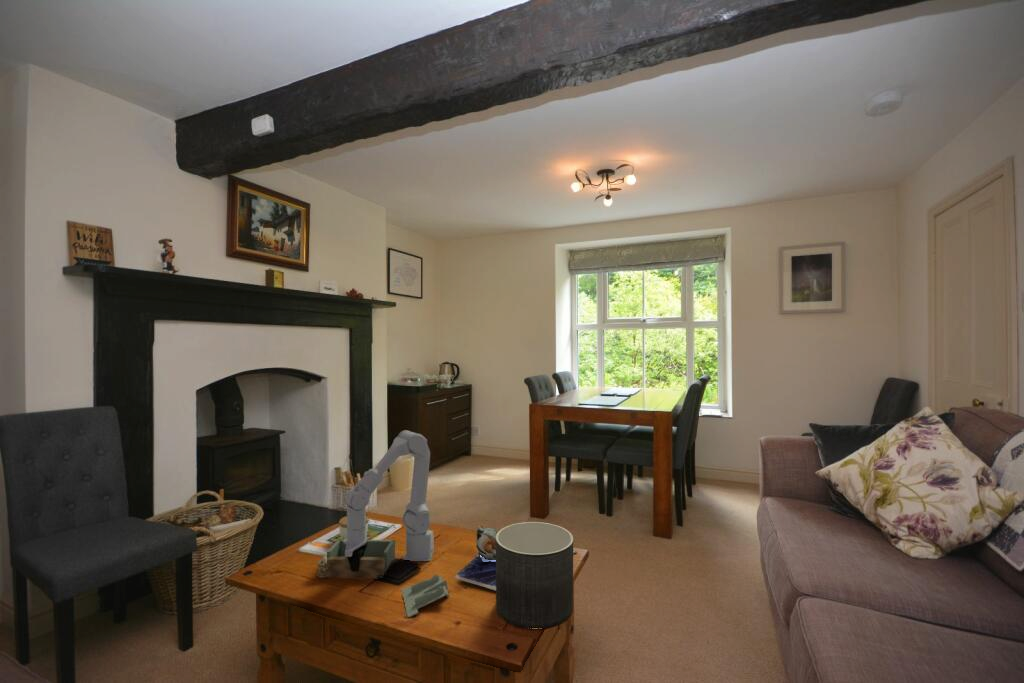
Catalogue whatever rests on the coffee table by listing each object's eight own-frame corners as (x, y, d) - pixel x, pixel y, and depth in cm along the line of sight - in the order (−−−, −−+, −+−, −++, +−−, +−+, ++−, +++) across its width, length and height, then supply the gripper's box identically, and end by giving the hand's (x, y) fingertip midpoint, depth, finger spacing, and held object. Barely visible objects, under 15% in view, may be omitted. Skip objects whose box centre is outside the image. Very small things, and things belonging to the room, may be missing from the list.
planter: (551, 641, 118) (551, 562, 118) (480, 614, 130) (480, 542, 130) (585, 600, 137) (585, 531, 137) (521, 579, 148) (521, 516, 148)
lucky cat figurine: (523, 561, 161) (515, 533, 154) (494, 582, 156) (484, 554, 150) (501, 534, 173) (493, 507, 166) (473, 553, 168) (464, 526, 161)
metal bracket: (440, 565, 146) (451, 589, 132) (445, 582, 147) (456, 608, 133) (395, 586, 142) (401, 613, 127) (401, 603, 142) (407, 632, 128)
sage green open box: (395, 558, 163) (395, 540, 163) (383, 577, 150) (383, 557, 150) (338, 557, 163) (338, 539, 163) (322, 576, 150) (322, 556, 150)
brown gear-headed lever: (386, 573, 152) (386, 555, 152) (382, 580, 148) (382, 561, 148) (321, 573, 153) (321, 554, 153) (315, 579, 148) (315, 561, 148)
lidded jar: (333, 544, 174) (333, 519, 174) (348, 533, 184) (348, 509, 184) (360, 546, 172) (360, 521, 172) (373, 534, 183) (373, 511, 183)
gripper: (352, 518, 158) (352, 558, 158) (335, 536, 143) (335, 580, 143) (373, 518, 158) (373, 558, 158) (357, 536, 143) (357, 580, 143)
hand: (356, 569), depth 150 cm, fingers closed on brown gear-headed lever, 2 cm apart
